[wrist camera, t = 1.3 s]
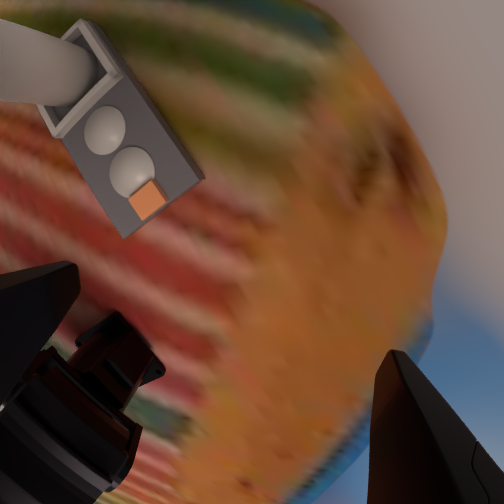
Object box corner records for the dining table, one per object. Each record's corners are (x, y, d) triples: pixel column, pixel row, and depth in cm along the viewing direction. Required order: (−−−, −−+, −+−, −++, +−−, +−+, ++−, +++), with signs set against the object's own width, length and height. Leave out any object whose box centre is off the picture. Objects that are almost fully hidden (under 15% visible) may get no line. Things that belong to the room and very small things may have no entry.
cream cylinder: (65, 120, 18) (-40, 118, 9) (43, 80, 17) (-52, 67, 8) (108, 76, 17) (6, 45, 8) (83, 37, 16) (-10, 2, 7)
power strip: (205, 178, 20) (194, 181, 17) (133, 233, 21) (116, 243, 19) (98, 25, 17) (81, 15, 14) (42, 83, 18) (22, 80, 16)
